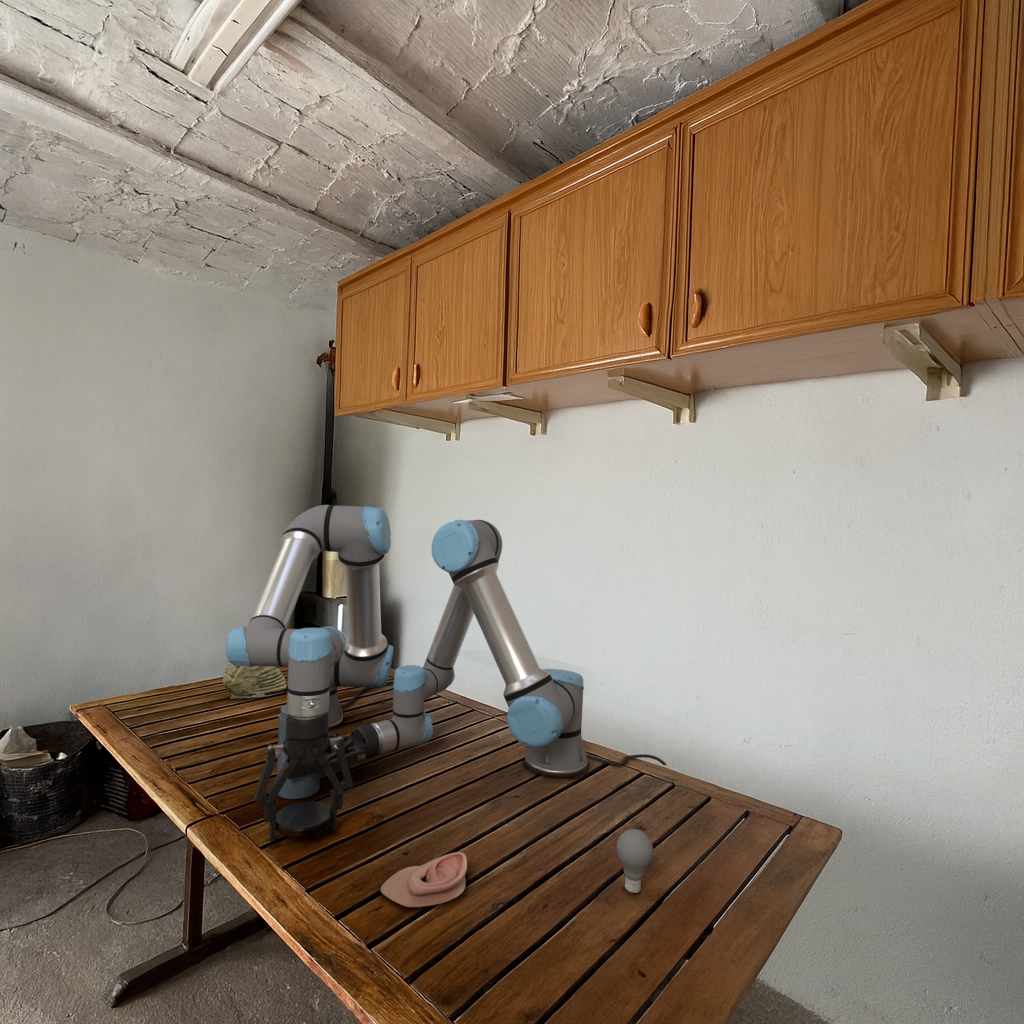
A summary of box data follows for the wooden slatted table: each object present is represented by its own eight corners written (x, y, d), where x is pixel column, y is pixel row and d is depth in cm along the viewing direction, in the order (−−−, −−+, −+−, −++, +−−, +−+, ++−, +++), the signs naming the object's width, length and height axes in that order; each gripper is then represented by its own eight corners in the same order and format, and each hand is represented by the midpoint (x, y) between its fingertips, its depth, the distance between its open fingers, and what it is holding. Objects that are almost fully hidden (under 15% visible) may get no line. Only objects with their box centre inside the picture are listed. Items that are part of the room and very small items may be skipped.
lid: (331, 807, 124) (331, 799, 124) (332, 833, 115) (332, 824, 115) (276, 812, 121) (276, 804, 121) (272, 840, 112) (273, 830, 112)
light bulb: (610, 879, 108) (613, 822, 108) (644, 879, 109) (647, 822, 109) (619, 902, 102) (622, 840, 102) (655, 901, 103) (658, 840, 103)
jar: (290, 803, 130) (293, 718, 130) (267, 789, 136) (270, 707, 136) (328, 789, 137) (331, 708, 137) (305, 776, 143) (308, 698, 143)
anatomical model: (373, 876, 100) (400, 838, 111) (372, 901, 100) (399, 861, 111) (454, 890, 97) (473, 850, 108) (452, 915, 97) (472, 873, 108)
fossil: (218, 695, 195) (220, 647, 195) (278, 685, 208) (279, 640, 207) (228, 703, 189) (230, 653, 188) (289, 692, 201) (290, 645, 201)
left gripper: (243, 727, 109) (238, 855, 109) (373, 712, 120) (368, 829, 120) (240, 713, 116) (235, 834, 116) (363, 701, 126) (359, 811, 127)
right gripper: (397, 772, 141) (300, 801, 126) (349, 742, 157) (257, 765, 142) (398, 738, 141) (301, 764, 125) (350, 711, 157) (259, 731, 141)
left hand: (303, 831), depth 118 cm, fingers closed on lid, 10 cm apart
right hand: (278, 764), depth 134 cm, fingers closed on jar, 9 cm apart
